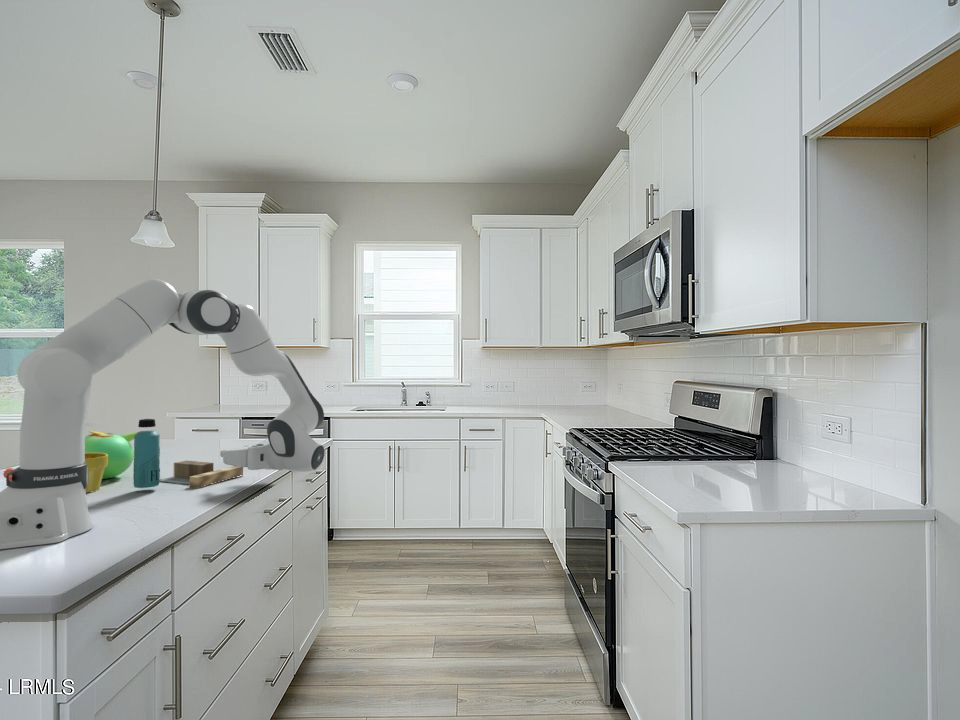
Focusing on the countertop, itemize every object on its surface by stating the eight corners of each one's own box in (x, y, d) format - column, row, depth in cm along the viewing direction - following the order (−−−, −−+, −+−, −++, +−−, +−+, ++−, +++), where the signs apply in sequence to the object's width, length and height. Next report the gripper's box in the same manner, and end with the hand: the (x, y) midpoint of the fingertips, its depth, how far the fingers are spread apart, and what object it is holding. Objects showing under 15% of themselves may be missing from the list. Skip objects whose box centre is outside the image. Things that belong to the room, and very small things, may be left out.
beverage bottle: (151, 493, 154) (152, 420, 154) (126, 493, 154) (128, 420, 154) (164, 488, 161) (165, 418, 161) (141, 487, 161) (142, 417, 161)
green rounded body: (52, 481, 167) (53, 431, 167) (105, 471, 183) (105, 425, 183) (98, 486, 162) (99, 435, 162) (148, 475, 178) (149, 428, 178)
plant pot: (97, 494, 153) (98, 458, 153) (54, 495, 150) (54, 459, 150) (113, 486, 163) (114, 452, 163) (73, 487, 160) (73, 452, 160)
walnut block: (202, 465, 170) (173, 462, 173) (201, 480, 170) (173, 477, 173) (213, 462, 174) (185, 460, 178) (213, 477, 174) (185, 474, 178)
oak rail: (197, 488, 162) (197, 477, 162) (189, 487, 163) (189, 476, 163) (243, 476, 179) (243, 466, 179) (235, 475, 180) (235, 465, 180)
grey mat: (193, 485, 165) (193, 484, 165) (157, 481, 169) (157, 480, 169) (229, 476, 178) (229, 475, 178) (194, 472, 183) (194, 471, 183)
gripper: (295, 438, 174) (258, 435, 179) (248, 448, 155) (208, 445, 159) (295, 458, 174) (258, 455, 179) (247, 471, 155) (207, 467, 159)
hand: (234, 450), depth 169 cm, fingers open, 8 cm apart
